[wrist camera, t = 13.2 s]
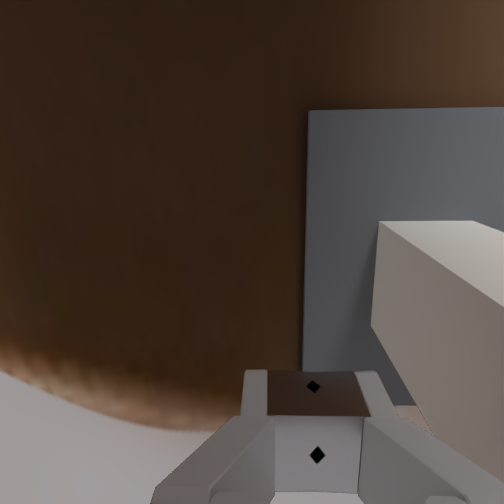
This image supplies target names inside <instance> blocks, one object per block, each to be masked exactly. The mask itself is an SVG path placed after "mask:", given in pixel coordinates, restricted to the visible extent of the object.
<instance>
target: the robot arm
mask: <svg viewBox="0 0 504 504" xmlns="http://www.w3.org/2000/svg"><path fill="white" fill-rule="evenodd" d="M316 491H317V492H334V493H353V494H354V493H355V494H358V496H359V498H360V499H361V500H362V501H363V502H364V504H504V483H503V482H502V481H500V480H499V479H497V478H496V477H494V476H493V475H491V474H490V473H488V472H487V471H485V470H484V469H482V468H481V467H479V466H478V465H476V464H475V463H473V462H472V461H470V460H469V459H467V458H466V457H464V456H463V455H461V454H460V453H458V452H457V451H455V450H454V449H452V448H451V447H449V446H448V445H446V444H445V443H443V442H442V441H440V440H439V439H437V438H436V437H434V436H432V435H431V434H429V433H428V432H426V431H425V430H423V429H422V428H420V427H419V426H417V425H416V424H414V423H413V422H411V421H410V420H408V419H407V418H399V416H398V414H397V412H396V410H395V408H394V406H393V404H392V402H391V400H390V398H389V396H388V394H387V392H386V390H385V388H384V386H383V384H382V382H381V380H380V378H379V375H378V373H377V372H375V371H374V370H371V371H334V372H310V371H289V370H268V404H267V370H246V371H245V373H244V383H243V393H242V403H241V413H240V416H233V417H232V418H231V419H230V420H228V421H227V422H226V423H225V424H224V425H223V426H222V427H221V428H220V429H219V430H218V431H216V432H215V433H214V434H213V435H212V436H211V437H210V438H209V439H208V440H207V441H206V442H204V443H203V444H202V445H201V446H200V447H199V448H198V449H197V450H196V451H195V452H193V453H192V454H191V455H190V456H189V457H188V458H187V459H186V460H185V461H184V462H183V463H182V464H180V465H179V466H178V467H177V468H176V469H175V470H174V471H173V472H172V473H171V474H170V475H168V476H167V477H166V478H165V479H164V480H163V481H162V482H161V483H160V484H159V485H158V486H157V487H156V488H155V491H154V493H153V497H152V500H151V503H150V504H270V502H271V500H272V499H273V497H274V495H275V492H316Z"/></svg>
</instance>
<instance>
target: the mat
mask: <svg viewBox="0 0 504 504" xmlns="http://www.w3.org/2000/svg"><path fill="white" fill-rule="evenodd" d="M379 221H475V222H478V223H480V224H483V225H486V226H488V227H491V228H494V229H496V230H499V231H502V232H504V107H466V108H411V109H355V110H310V111H308V145H307V185H306V226H305V266H304V306H303V346H302V371H310V372H334V371H371V370H374V371H375V372H377V373H378V375H379V378H380V380H381V382H382V384H383V386H384V388H385V390H386V392H387V394H388V396H389V398H390V400H391V402H392V404H393V405H416V403H415V401H414V400H413V398H412V396H411V394H410V393H409V391H408V389H407V388H406V386H405V384H404V382H403V381H402V379H401V377H400V375H399V374H398V372H397V370H396V369H395V367H394V365H393V363H392V362H391V360H390V358H389V356H388V355H387V353H386V351H385V349H384V348H383V346H382V344H381V343H380V341H379V339H378V337H377V336H376V334H375V332H374V330H373V329H372V327H371V315H372V302H373V290H374V277H375V264H376V252H377V239H378V227H379Z"/></svg>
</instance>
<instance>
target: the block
mask: <svg viewBox="0 0 504 504" xmlns="http://www.w3.org/2000/svg"><path fill="white" fill-rule="evenodd" d="M371 327H372V329H373V330H374V332H375V334H376V336H377V337H378V339H379V341H380V343H381V344H382V346H383V348H384V349H385V351H386V353H387V355H388V356H389V358H390V360H391V362H392V363H393V365H394V367H395V369H396V370H397V372H398V374H399V375H400V377H401V379H402V381H403V382H404V384H405V386H406V388H407V389H408V391H409V393H410V394H411V396H412V398H413V400H414V401H415V403H416V405H417V407H418V408H419V410H420V412H421V413H422V415H423V417H424V419H425V420H426V422H427V424H428V426H429V427H430V429H431V431H432V433H433V434H434V436H435V437H436V438H437V439H439V440H440V441H442V442H443V443H445V444H446V445H448V446H449V447H451V448H452V449H454V450H455V451H457V452H458V453H460V454H461V455H463V456H464V457H466V458H467V459H469V460H470V461H472V462H473V463H475V464H476V465H478V466H479V467H481V468H482V469H484V470H485V471H487V472H488V473H490V474H491V475H493V476H494V477H496V478H497V479H499V480H500V481H502V482H503V483H504V232H502V231H499V230H496V229H494V228H491V227H488V226H486V225H483V224H480V223H478V222H475V221H379V227H378V239H377V252H376V264H375V277H374V290H373V302H372V315H371Z"/></svg>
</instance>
